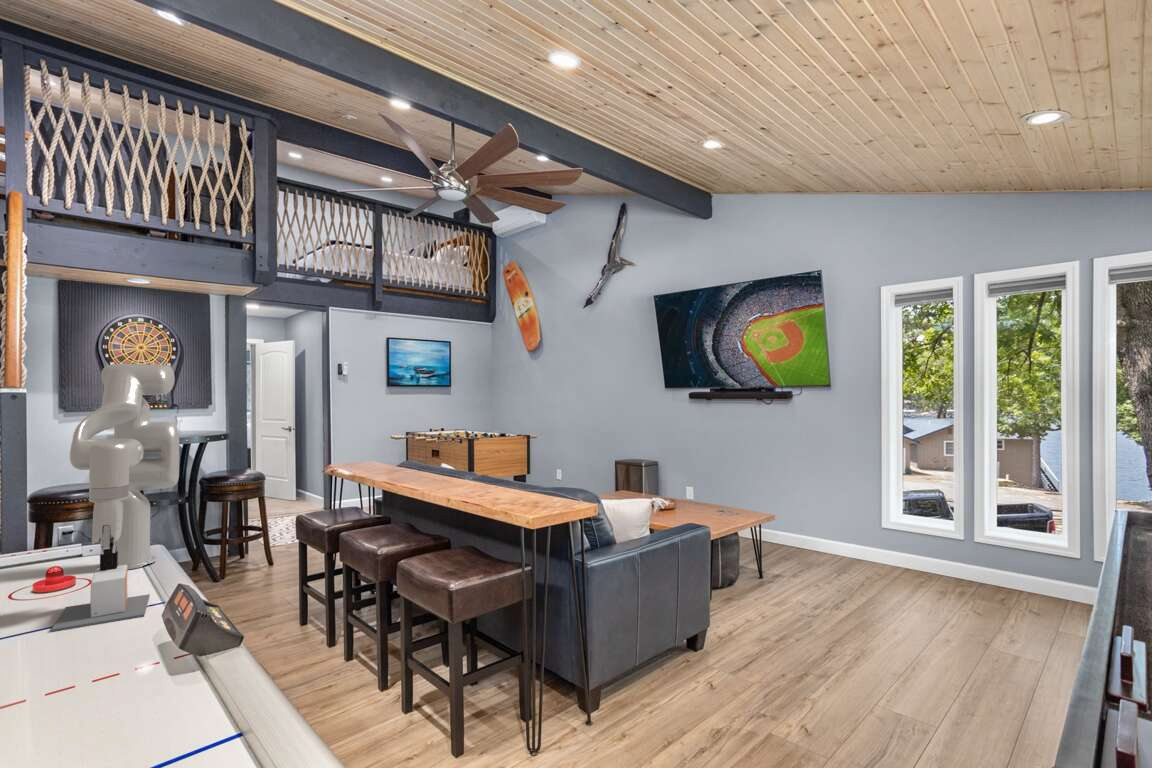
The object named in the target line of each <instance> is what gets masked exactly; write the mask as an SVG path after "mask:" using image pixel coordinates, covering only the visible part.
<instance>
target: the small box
mask: <svg viewBox="0 0 1152 768" xmlns="http://www.w3.org/2000/svg"><path fill="white" fill-rule="evenodd" d="M127 598H128V570H127V565H120V566H117V568H116V569H111V570H104V571H100V567H99V568H95V570H94V572H93V576H92V579H91V583H90V599H89V600H90V602H89V603H90V605H91V618H92V617H97V616H103V615H108V614H113V613H119V612H125V610H126V602H127Z"/></svg>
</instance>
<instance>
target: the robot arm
mask: <svg viewBox="0 0 1152 768" xmlns="http://www.w3.org/2000/svg"><path fill="white" fill-rule="evenodd" d="M100 374H101V381H102V384H103V387H104V388H103V395H102V400H101V406H100V407H99V408H97V409H95V410H94V411H93V412H91V413H89V414H88V415H87V416H85V418H83V419H82V420H81V421H80V422H79V423H78V425H77V426H76V428H75V429H74V432H73V436H72V441H71V444H70V450H69V461H70V464H71V465H72V467H73V468H75V469H77V470H79V471H80V470H81V471H85V470H86V471H89V474H88V475H89V476H88V477H89V479H88V480H89V481H88V482H89V484H88V485H89V486H88V487H89V489H88V490H89V491H88V492H89V493H88V494H89V495H88V502H90V503H93V511H92V530H91V531H92V532H91V534H92V535H91V544H93V545H96V544H97V543H99V542H100V554H99V568H100V571H104V570H111V569H116V568H117V566H120V565H127V571H128V570H134V569H140V568H144V567H145V566H144V564H145V563H147V562H146V561H147V560H149V559H150V556H152V557H151V558H152V559H151V561H152V560H154V559H156V560H157V557H156V556H154V555H151V503H150V501H149V499H148V498H147V497H146V496H145V495H144V494H143V493H141V491H145V490H146V491H147V490H159V489H162V490H163V489H170V488H173V487H175V486H177V484H178V482H179V478H180V433H179V429H178V426H177V425H176V424H175V423H174V422H170V421H151V419H150V417H151V415H150V413H151V412H150V411H151V410H150V409H151V406H150V404H149V403H148V401H147V400H146V399H145V398H144V397H143V396H166V395H168V394H169V393H170V392H171V391H172V390H173V387H174V385H175V372H174V370H173V368H172V367H171V366H170V364H169V365H168V364H149V363H147V364H144V363H143V364H142V363H115V364H114V363H113V364H109V365H106V366H104V367H103V368H102V370H101V373H100ZM110 429H113V430H114V431H113V438H96V439H95V438H94V439H92V438H93V437H95V436H96V435H97V434H99V433H101V432H104V431H108V430H110ZM145 454H159V455H161V457H144V455H145ZM143 566H144V567H143Z"/></svg>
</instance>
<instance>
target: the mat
mask: <svg viewBox="0 0 1152 768" xmlns="http://www.w3.org/2000/svg"><path fill="white" fill-rule="evenodd" d="M150 596H151V595H150V594H142V595H135V596H131V597H128V596H127V602H126V610H125V612H119V613H113V614H108V615H103V616H97V617H92V618H91V605H90V602H89V603H82V604H78V605H77V604H75V605H71V606H70V605H69V606H66V607H64V609H63V611H62V613H61V614H60V615H59V617H58V619H57V620H56V621H55V624H54V625H53V626H52V628H51V630H50V632H51V633H54V632H59V631H65V630H71V629H76V628H84V627H89V626H95V625H99V624H101V625H102V624H106V623H112V622H119V621H125V620H130V619H136V618H142V617H145V615H146V610H147V607H148V604H149V600H150Z"/></svg>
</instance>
